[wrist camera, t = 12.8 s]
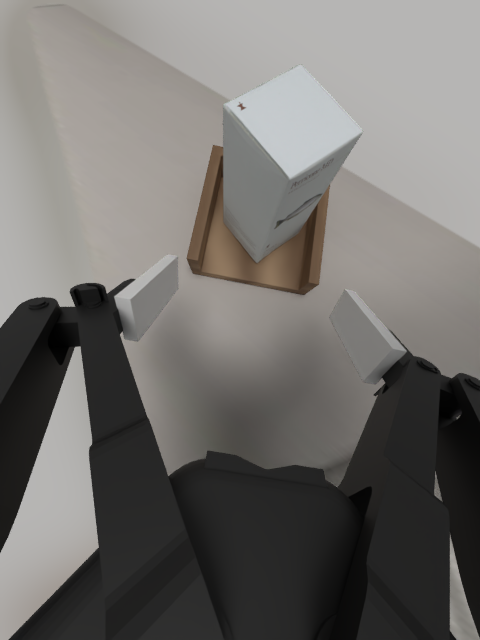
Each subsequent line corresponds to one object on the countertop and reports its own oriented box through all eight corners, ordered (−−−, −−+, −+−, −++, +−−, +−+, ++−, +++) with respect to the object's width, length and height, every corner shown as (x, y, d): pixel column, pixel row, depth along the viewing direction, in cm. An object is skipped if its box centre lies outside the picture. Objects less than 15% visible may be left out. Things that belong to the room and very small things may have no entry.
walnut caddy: (315, 197, 28) (331, 171, 24) (303, 294, 26) (318, 284, 22) (214, 175, 28) (213, 144, 24) (193, 273, 25) (186, 258, 21)
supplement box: (256, 265, 25) (287, 181, 12) (221, 222, 25) (218, 98, 13) (299, 235, 26) (368, 130, 13) (265, 194, 26) (301, 56, 14)
